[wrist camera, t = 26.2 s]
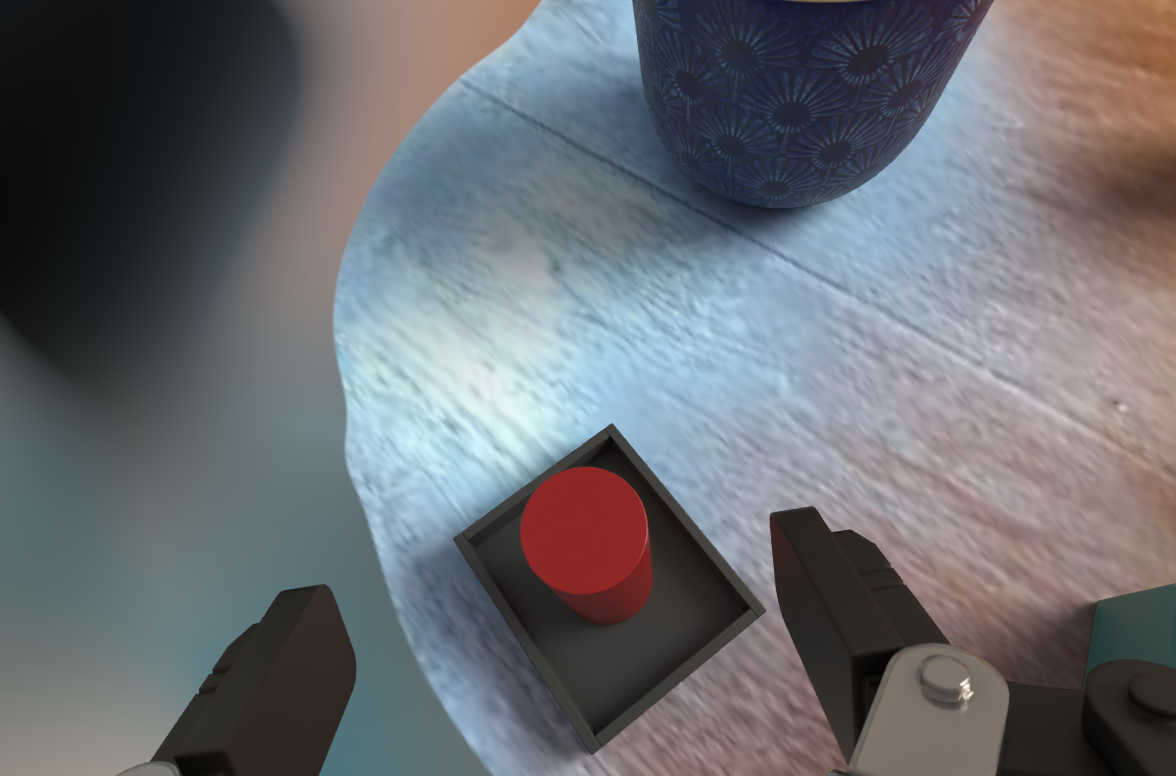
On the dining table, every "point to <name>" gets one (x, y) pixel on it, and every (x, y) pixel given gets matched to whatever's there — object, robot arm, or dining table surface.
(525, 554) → the plain red cylinder
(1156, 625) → the teal open box
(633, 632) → the tray
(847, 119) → the planter
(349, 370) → the dining table surface
